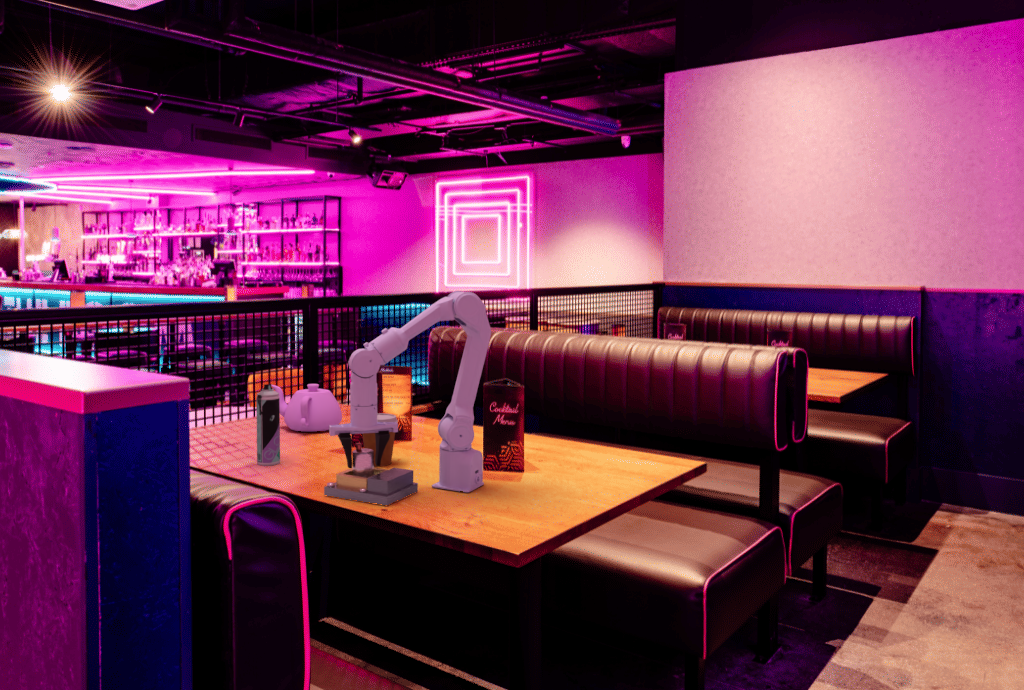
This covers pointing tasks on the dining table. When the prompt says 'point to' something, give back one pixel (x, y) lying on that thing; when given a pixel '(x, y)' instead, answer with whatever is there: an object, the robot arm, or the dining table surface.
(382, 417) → the disposable coffee cup
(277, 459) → the spray can
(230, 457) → the dining table surface
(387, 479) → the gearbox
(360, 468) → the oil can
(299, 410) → the teapot
